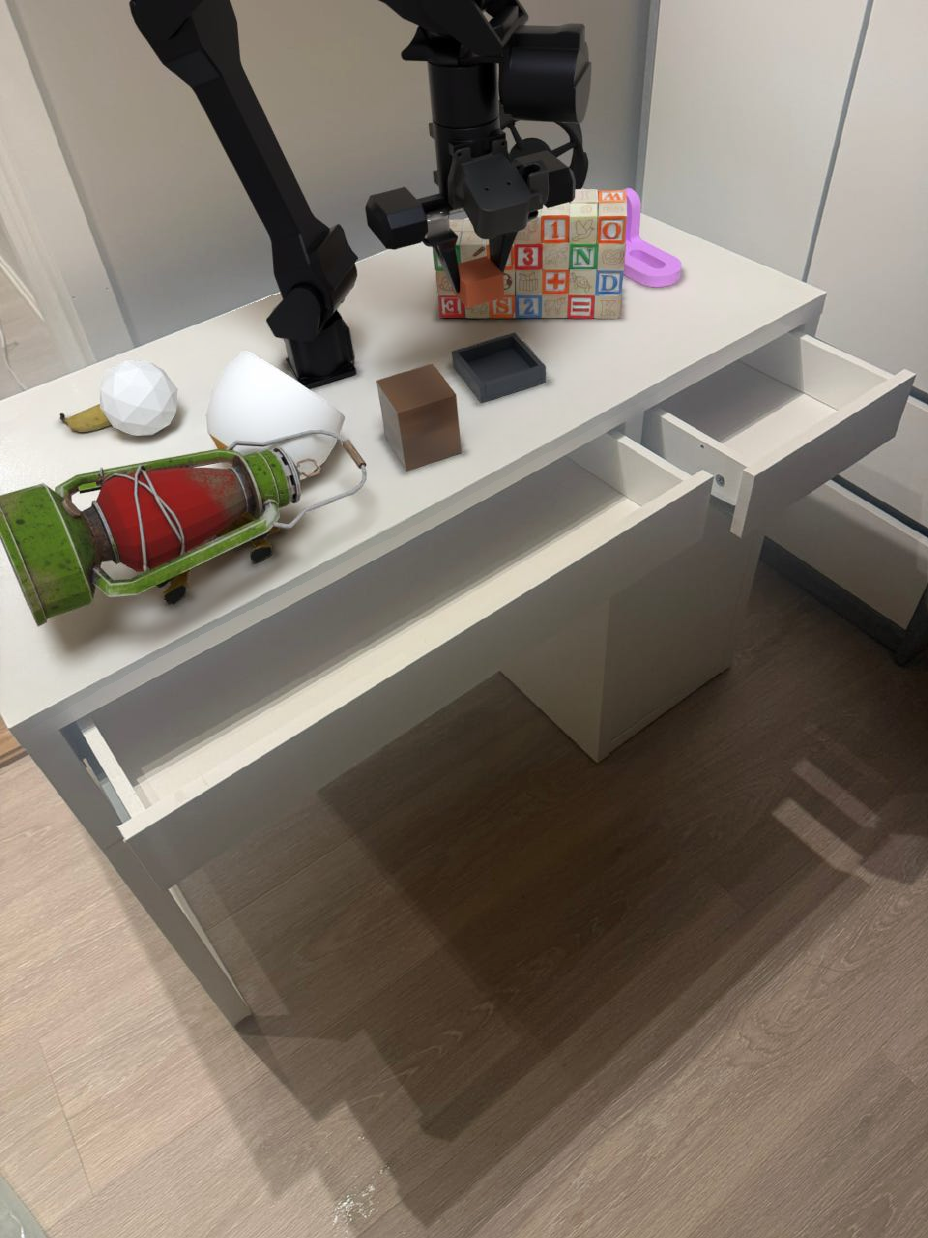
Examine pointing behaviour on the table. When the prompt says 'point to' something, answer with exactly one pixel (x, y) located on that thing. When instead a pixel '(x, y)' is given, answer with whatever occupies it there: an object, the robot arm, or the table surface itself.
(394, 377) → the brown wooden cube
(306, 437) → the cup
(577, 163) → the black spoked wheel
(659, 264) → the bracket
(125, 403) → the geometric ball
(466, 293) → the orange square block
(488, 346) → the dark gray square tray
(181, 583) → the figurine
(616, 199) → the stack of blocks
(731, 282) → the table surface
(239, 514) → the lantern
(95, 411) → the banana
